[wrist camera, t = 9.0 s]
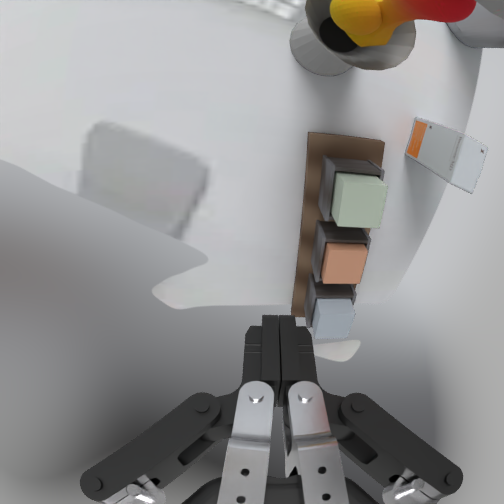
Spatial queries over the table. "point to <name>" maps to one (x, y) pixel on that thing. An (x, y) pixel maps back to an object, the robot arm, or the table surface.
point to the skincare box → (447, 153)
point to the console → (328, 213)
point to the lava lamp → (369, 31)
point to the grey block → (332, 317)
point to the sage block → (357, 199)
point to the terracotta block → (343, 263)
